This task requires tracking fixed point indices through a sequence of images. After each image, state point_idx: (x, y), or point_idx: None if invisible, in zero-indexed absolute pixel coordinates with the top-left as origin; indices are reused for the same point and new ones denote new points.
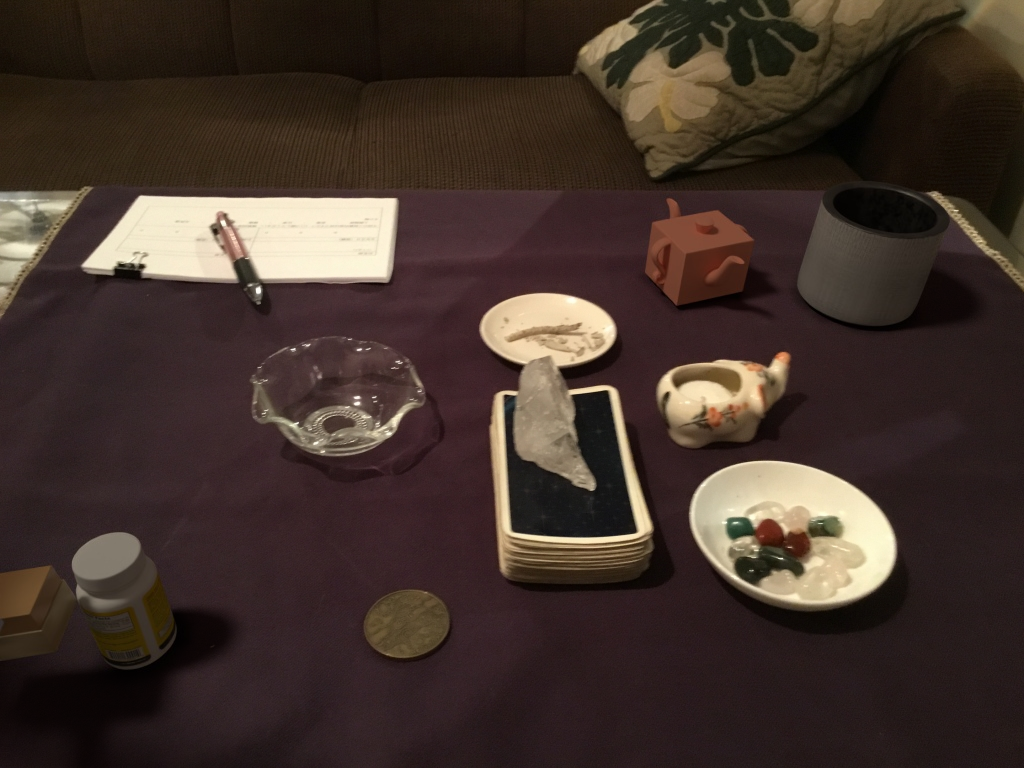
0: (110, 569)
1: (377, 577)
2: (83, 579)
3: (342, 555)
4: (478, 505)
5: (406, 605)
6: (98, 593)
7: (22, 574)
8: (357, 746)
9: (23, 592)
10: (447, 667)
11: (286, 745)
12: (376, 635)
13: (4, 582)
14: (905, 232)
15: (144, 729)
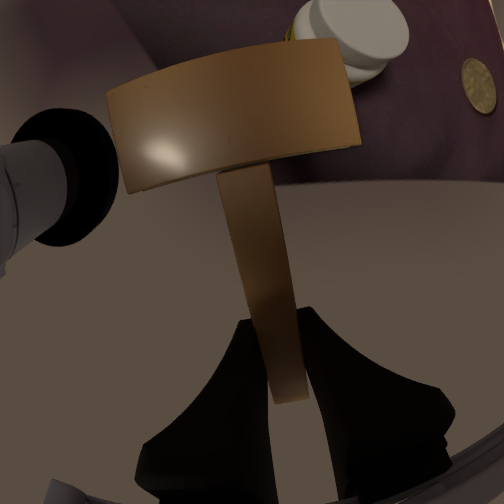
0: (389, 43)
1: (459, 42)
2: (359, 53)
3: (433, 14)
4: (486, 9)
5: (477, 72)
6: (363, 66)
7: (290, 52)
8: (469, 172)
9: (322, 94)
10: (498, 124)
11: (438, 170)
12: (469, 91)
13: (264, 68)
14: None
15: (344, 155)
